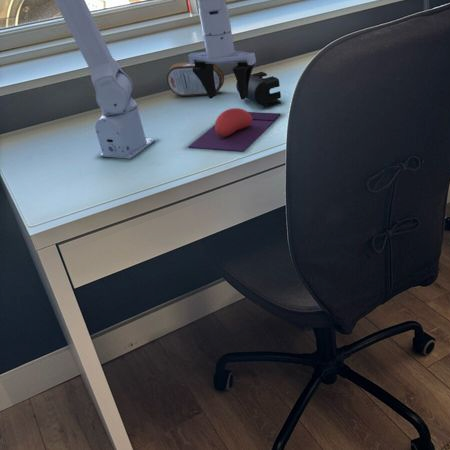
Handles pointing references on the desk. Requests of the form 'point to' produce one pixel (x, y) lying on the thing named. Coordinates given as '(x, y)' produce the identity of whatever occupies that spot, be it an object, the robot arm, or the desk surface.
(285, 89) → the desk surface
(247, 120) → the red oval piece
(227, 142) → the cloth
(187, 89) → the tin
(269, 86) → the end cap
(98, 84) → the robot arm
